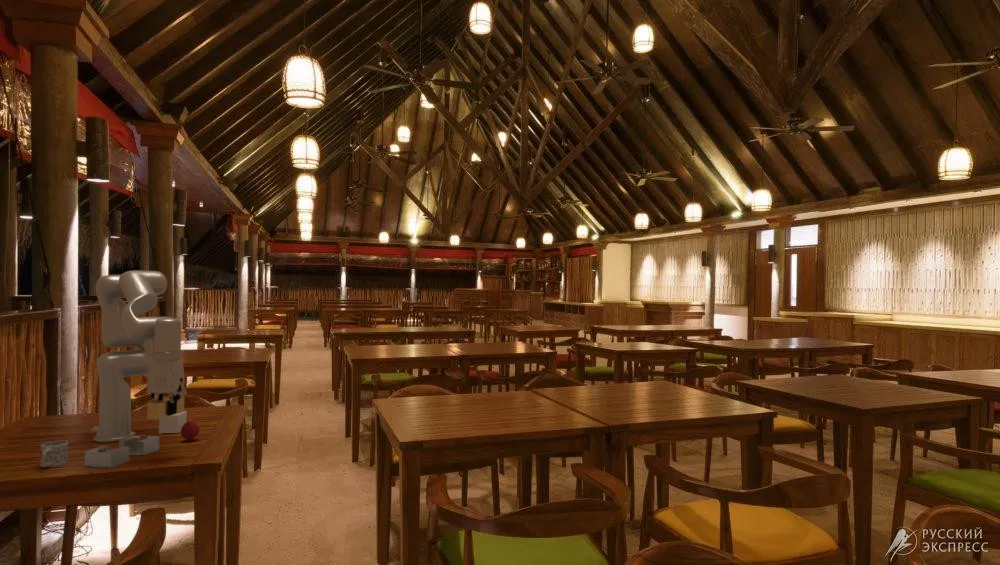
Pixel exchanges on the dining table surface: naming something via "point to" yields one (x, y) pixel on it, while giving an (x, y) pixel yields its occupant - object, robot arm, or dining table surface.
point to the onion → (189, 430)
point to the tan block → (162, 408)
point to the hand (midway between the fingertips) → (166, 413)
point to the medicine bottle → (172, 423)
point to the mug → (54, 453)
